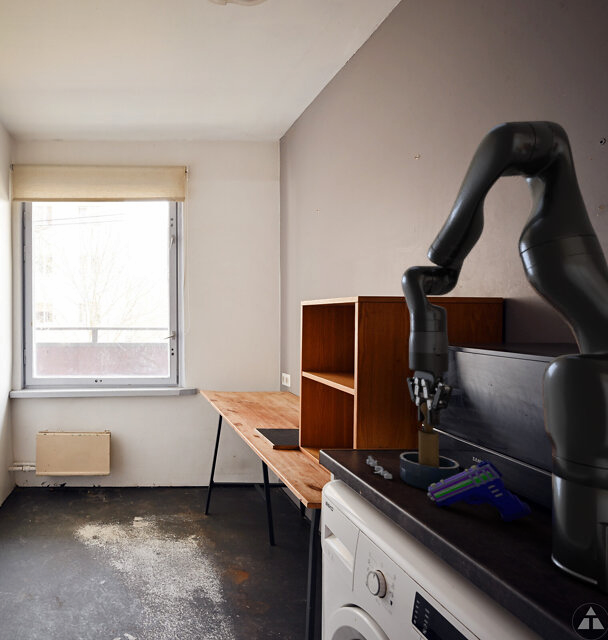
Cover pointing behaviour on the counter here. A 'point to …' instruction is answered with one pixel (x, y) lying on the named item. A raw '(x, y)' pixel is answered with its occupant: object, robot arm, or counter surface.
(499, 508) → the toy gun
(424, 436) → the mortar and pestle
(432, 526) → the counter surface
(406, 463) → the blue bowl
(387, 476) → the figurines set
